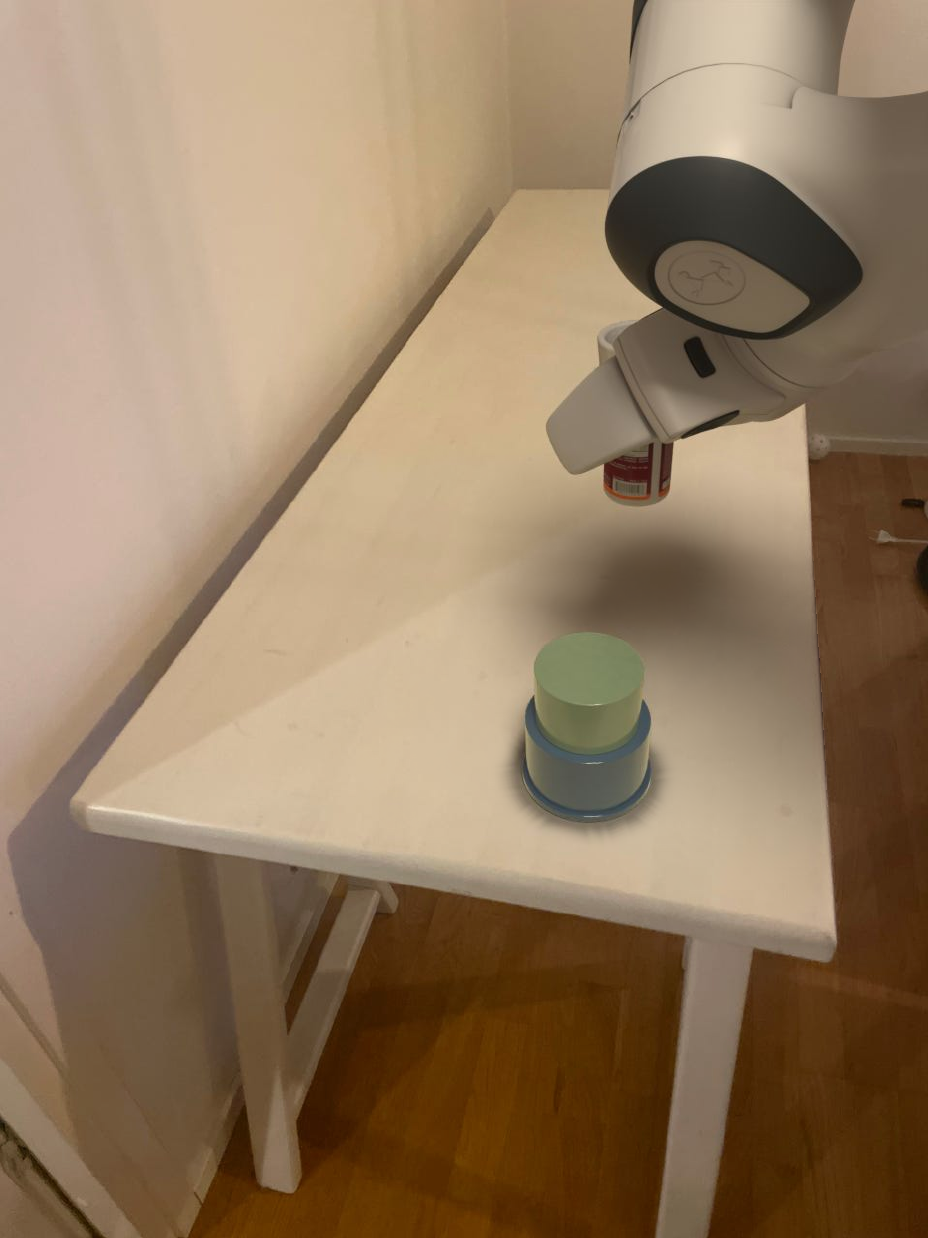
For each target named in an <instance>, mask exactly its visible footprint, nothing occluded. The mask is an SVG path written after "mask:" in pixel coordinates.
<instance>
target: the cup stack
mask: <svg viewBox="0 0 928 1238" xmlns="http://www.w3.org/2000/svg"><path fill="white" fill-rule="evenodd" d="M644 680H645V666H644V662H643V659H642V657H641V656H640V654H639V652H638V651H637V650H636V649H635V648H634V647H633V646H632V645H631V644H629V643H628V642H627V641H624V640H623V639H621V638H620V637H619V638H618V637H616V636H613V635H611V634H608V633H607V634H606V633H603V632H594V631H593V632H592V631H580V632H574V633H568V634H564V635H561V636H559V637H557V638H555V639H553V640H551V641H549V642H548V643H547V644H546V645H544V646H543V647H542V648H541V650H540V651H539V652H538V653H537V655H536V657H535V659H534V663H533V690H534V694H533V695H532V697H530V699H529V701H528V703H527V705H526V708H525V712H524V734H525V735H524V737H525V739H524V740H525V752H524V755H523V758H522V763H521V770H522V772H521V773H522V780H523V784H524V786H525V789H526V790H527V792H528V794H529V795H530V797H531V798H532V799H533V801H535V803H536V804H538V805H539V807H541V808H543V809H544V810H545V811H546V812H548V813H550V814H552V815H554V816H556V817H559V818H562V819H565V820H569V821H573V822H577V823H578V822H580V823H599V822H606V821H610V820H613V819H616V818H619V817H621V816H623V815H625V814H627V813H629V812H630V811H632V810H633V809H634V808H636V807H637V806H638V805H639V804H640V803H641V802H642V801H643V800H644V798H645V797H646V795H647V793H648V791H649V788H650V787H651V781H652V764H651V760H650V757H649V754H650V741H651V730H652V729H651V728H652V716H651V711H650V708H649V706H648V704H647V703H646V701H645V699H644V698H643V695H644V694H643V693H644V691H643V690H644Z"/></svg>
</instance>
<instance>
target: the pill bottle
mask: <svg viewBox="0 0 928 1238" xmlns="http://www.w3.org/2000/svg"><path fill="white" fill-rule="evenodd" d="M674 444H675V441H674V442H672V443H668V444H665V443H662V442H661V440H658V441H655V442H653V443H650V444H648V445H645V446H643V447H640V448H638V449H635V450H633V451H631V452H629V453H627V454H624V455H622V456H620V457H618V458H616V459H614V460H611V461H609V462H607V463H605V464H603V483H602V484H603V485H602V486H603V492H604V494H605V495H606V497H608V499H610V500H611V501H612V502H614V503H616V504H618V505H621V506H625V507H634V508H638V507H639V508H641V507H648V506H653V505H656V504H658V503H661V502H662V501H663V500H665V499H666V498H667V496H668V495H669V493H670V490H671V481H672V470H673V455H674Z"/></svg>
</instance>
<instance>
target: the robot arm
mask: <svg viewBox="0 0 928 1238" xmlns="http://www.w3.org/2000/svg"><path fill="white" fill-rule="evenodd" d="M855 2H856V0H633V5H632V13H631V14H632V15H631V28H630V29H631V30H630V43H629V44H630V45H629V60H628V61H629V62H628V63H629V65H628V66H629V67H628V72H627V73H628V74H627V78H626V84H625V91H624V96H623V103H622V110H621V115H620V121H619V127H618V133H617V140H616V146H615V154H614V160H613V167H612V172H611V173H612V174H611V180H610V187H609V193H608V200H607V209H606V215H605V220H604V238H605V242H606V246H607V249H608V252H609V254H610V256H611V258H612V260H613V261H614V264H616V266H617V268H618V270H619V271H620V272H621V274H622V275H623V276H624V277H625V279H626V280H627V281H628V282H629V283H630V284H632V286H633V287H634V288H635V289H637V290H638V291H639V292H640V293H641V294H643V296H645V297H646V298H647V299H649V300H651V301H652V302H653V303H655V304H657V305H658V306H659V307H660V308H659V309H656V310H655V311H653V312H651V313H649V314H648V315H645V316H643V317H642V318H641V319H638V320H639V321H637V322H635V323H634V324H632V325H630V326H628V327H627V328H626V329H624V330H623V331H622V332H621V333H620V334H619V335H618V336H617V337H616V338H615V339H614V341H613V343H612V346H613V349H614V352H615V355H614V356H612V357H611V358H609V359H608V360H606V361H605V362H604V363H602V364H601V365H600V366H599V365H598V366H597V367H596V368H595V369H593V370H592V371H591V372H590V373H589V374H587V375H586V377H584V378H583V380H581V382H579V383H578V385H576V386H575V388H573V390H572V391H570V393H569V394H568V395H567V396H566V397H565V398H564V399H563V400H562V402H560V404H559V405H558V406H557V407H556V408H555V410H553V411H552V413H551V414H550V415H549V416H548V418H547V420H546V423H545V431H546V435H547V438H548V441H549V443H550V445H551V448H552V450H553V452H554V453H555V456H556V457H557V458H558V461H559V462H560V464H561V466H562V467H563V468H564V469H565V471H566V472H567V473H569V474H570V475H574V476H577V475H582V474H584V473H587V472H590V471H592V470H594V469H596V468H598V467H601V466H604V464H605V463H607V462H609V461H611V460H614V459H616V458H618V457H620V456H622V455H624V454H627V453H629V452H631V451H633V450H635V449H638V448H640V447H643V446H645V445H648V444H650V443H653V442H655V441H658V440H661V442H662V443H665V444H668V443H672V442H674V443H675V442H676V441H679V440H684V439H688V438H691V437H693V436H696V435H698V434H703V433H705V432H707V431H708V432H709V431H712V430H714V429H718V428H721V427H728V426H738V425H743V424H749V423H752V422H754V423H767V422H772V421H773V422H774V421H776V420H779V419H781V418H783V417H785V416H786V415H788V414H790V413H791V412H793V411H795V410H797V409H798V408H800V407H801V406H803V405H804V404H806V403H808V402H809V401H811V400H812V399H815V398H816V397H818V396H819V395H821V394H823V393H824V392H826V391H828V390H830V389H831V388H832V387H834V386H836V385H838V384H839V383H841V382H843V381H844V380H845V379H847V378H849V377H850V376H851V375H853V373H854V372H856V371H857V370H858V369H859V368H860V367H861V365H862V364H863V363H864V362H865V361H866V359H867V358H868V357H869V356H871V355H873V354H875V353H877V352H883V351H886V350H890V349H893V348H896V347H899V346H901V345H903V344H905V343H907V342H909V341H911V340H913V339H914V338H916V337H917V336H919V335H920V334H922V333H924V332H925V331H928V90H926V91H921V92H917V93H909V94H902V95H893V96H882V97H881V96H880V97H867V96H866V97H862V96H861V97H859V96H856V97H855V96H846V95H839V94H838V93H839V82H840V71H841V63H842V62H841V61H842V56H843V55H842V54H843V49H844V45H845V40H846V36H847V32H848V27H849V22H850V19H851V15H852V11H853V8H854V5H855Z"/></svg>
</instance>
